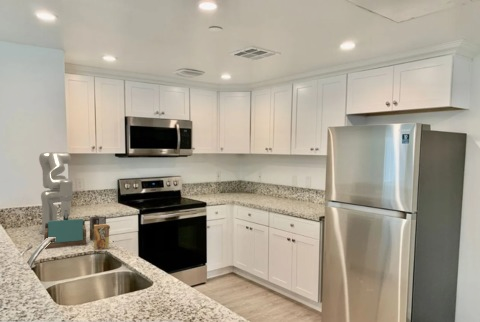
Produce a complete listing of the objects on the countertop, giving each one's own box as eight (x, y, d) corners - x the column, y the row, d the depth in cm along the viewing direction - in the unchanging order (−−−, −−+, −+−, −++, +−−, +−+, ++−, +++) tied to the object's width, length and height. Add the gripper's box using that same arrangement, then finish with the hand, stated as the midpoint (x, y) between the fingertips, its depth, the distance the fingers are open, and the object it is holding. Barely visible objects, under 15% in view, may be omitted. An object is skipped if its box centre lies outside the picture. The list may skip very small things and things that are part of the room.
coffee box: (106, 239, 236) (106, 217, 236) (98, 242, 231) (99, 218, 230) (96, 238, 240) (96, 215, 240) (89, 240, 234) (89, 217, 234)
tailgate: (48, 242, 214) (48, 221, 214) (82, 239, 224) (82, 218, 223) (48, 243, 213) (48, 221, 213) (82, 240, 223) (83, 219, 222)
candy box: (108, 246, 220) (108, 223, 219) (108, 248, 216) (109, 225, 216) (93, 248, 216) (93, 224, 216) (93, 250, 212) (94, 226, 212)
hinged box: (45, 242, 226) (45, 223, 226) (84, 238, 238) (84, 220, 237) (44, 248, 212) (44, 228, 212) (86, 244, 224) (86, 225, 223)
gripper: (59, 197, 227) (59, 224, 228) (59, 200, 214) (59, 229, 215) (71, 196, 231) (71, 223, 231) (72, 200, 218) (72, 228, 218)
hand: (65, 226), depth 223 cm, fingers closed
